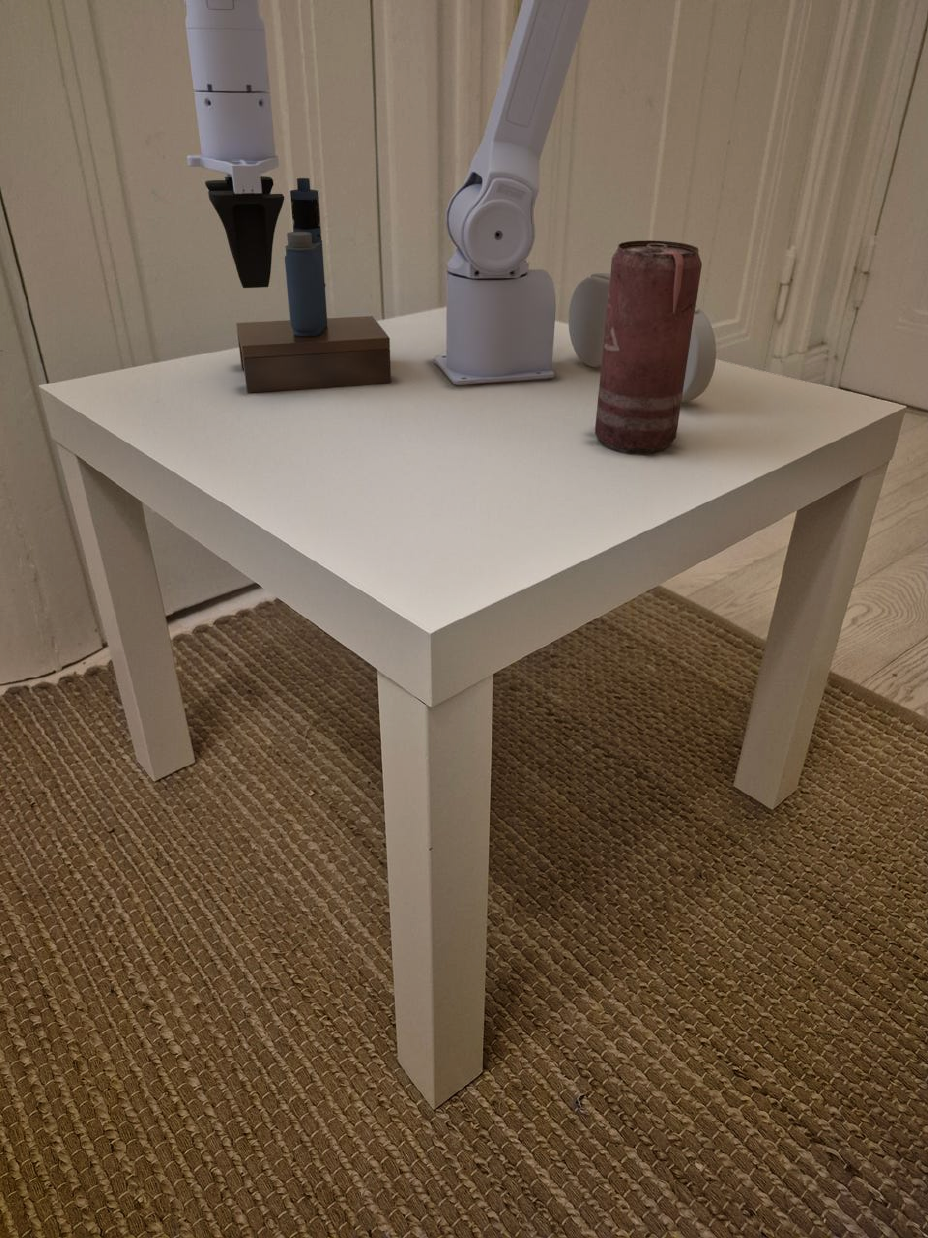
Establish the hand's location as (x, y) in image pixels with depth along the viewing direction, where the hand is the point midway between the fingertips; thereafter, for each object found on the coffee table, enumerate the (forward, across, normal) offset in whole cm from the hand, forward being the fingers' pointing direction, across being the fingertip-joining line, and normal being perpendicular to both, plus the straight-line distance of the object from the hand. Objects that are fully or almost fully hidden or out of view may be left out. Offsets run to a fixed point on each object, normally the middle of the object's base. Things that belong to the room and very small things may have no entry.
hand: (251, 277), depth 75 cm
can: (+9, +22, +26) cm, 36 cm away
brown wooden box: (+9, 0, +5) cm, 10 cm away
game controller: (+9, +8, +32) cm, 34 cm away
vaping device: (+5, 0, +5) cm, 7 cm away
